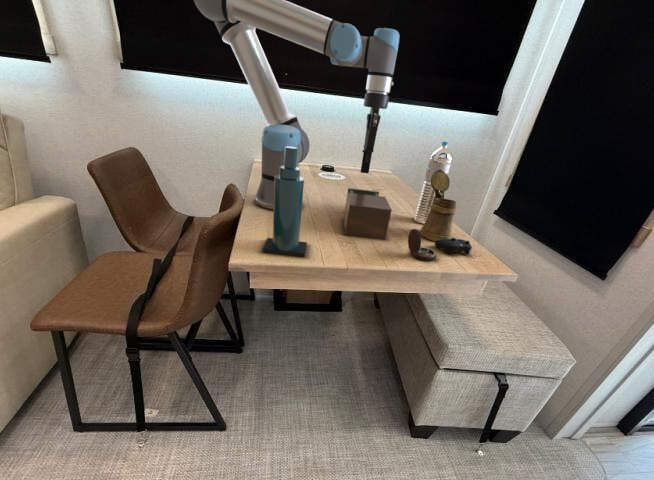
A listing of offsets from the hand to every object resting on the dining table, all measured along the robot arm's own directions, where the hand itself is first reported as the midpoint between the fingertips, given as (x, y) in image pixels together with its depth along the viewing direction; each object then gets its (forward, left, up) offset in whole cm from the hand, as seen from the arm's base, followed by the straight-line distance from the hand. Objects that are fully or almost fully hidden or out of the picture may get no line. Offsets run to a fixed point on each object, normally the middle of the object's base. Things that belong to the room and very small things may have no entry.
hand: (364, 172), depth 114 cm
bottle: (+47, -21, -11) cm, 52 cm away
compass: (+40, +14, -12) cm, 44 cm away
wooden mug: (+22, +22, -12) cm, 33 cm away
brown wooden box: (+25, 0, -12) cm, 28 cm away
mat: (+46, -21, -12) cm, 52 cm away
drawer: (+12, 0, -11) cm, 16 cm away
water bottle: (+10, +22, -12) cm, 27 cm away
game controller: (+34, +25, -12) cm, 44 cm away
